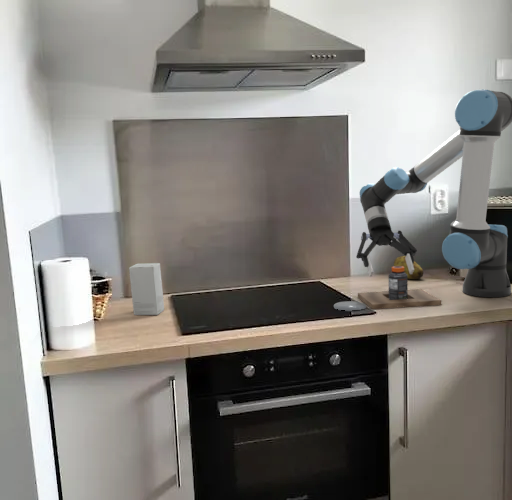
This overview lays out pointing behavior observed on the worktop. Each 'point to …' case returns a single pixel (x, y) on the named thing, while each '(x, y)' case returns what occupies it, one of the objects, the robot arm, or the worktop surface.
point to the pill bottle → (398, 283)
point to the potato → (416, 273)
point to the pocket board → (414, 299)
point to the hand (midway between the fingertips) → (392, 273)
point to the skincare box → (146, 289)
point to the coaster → (349, 305)
